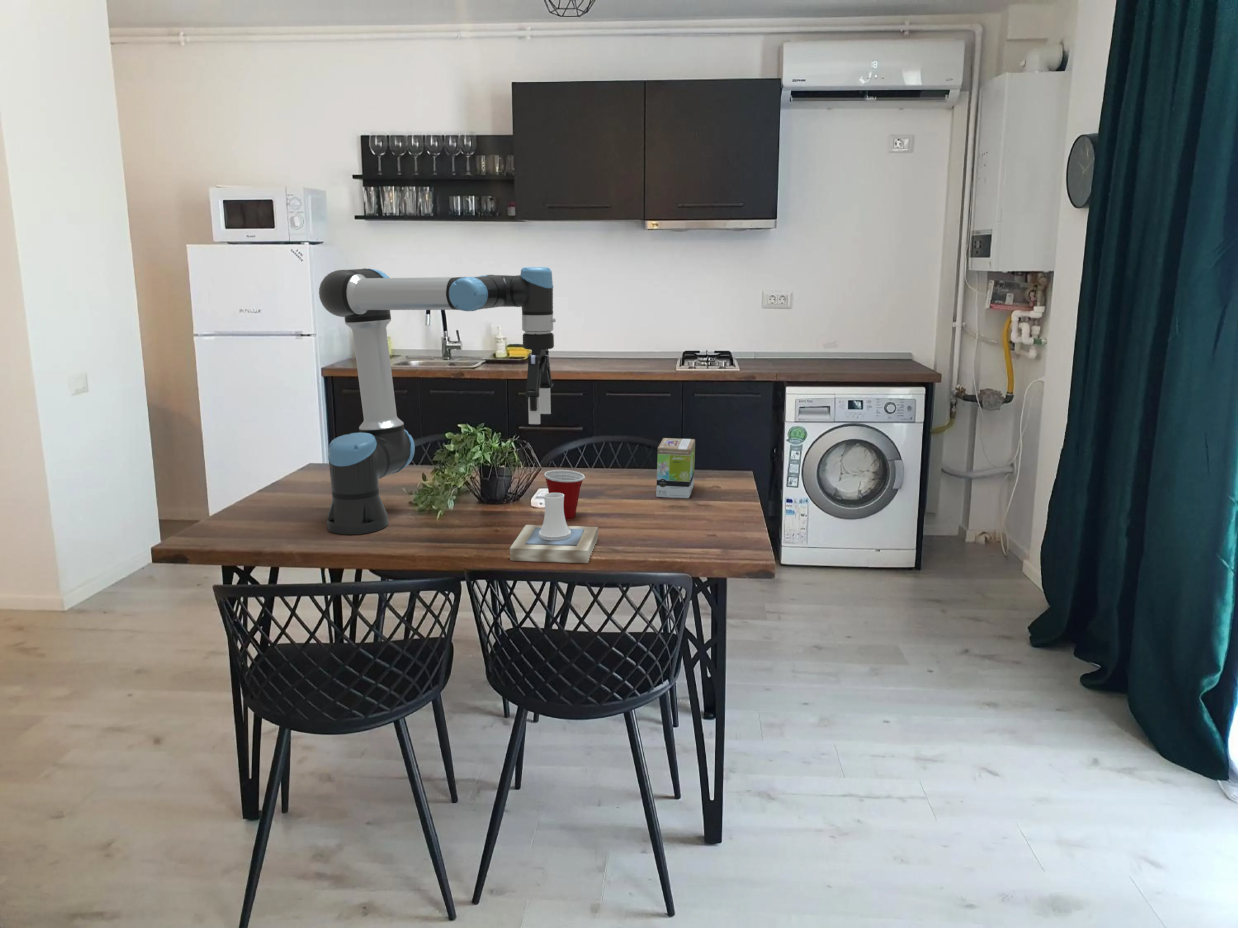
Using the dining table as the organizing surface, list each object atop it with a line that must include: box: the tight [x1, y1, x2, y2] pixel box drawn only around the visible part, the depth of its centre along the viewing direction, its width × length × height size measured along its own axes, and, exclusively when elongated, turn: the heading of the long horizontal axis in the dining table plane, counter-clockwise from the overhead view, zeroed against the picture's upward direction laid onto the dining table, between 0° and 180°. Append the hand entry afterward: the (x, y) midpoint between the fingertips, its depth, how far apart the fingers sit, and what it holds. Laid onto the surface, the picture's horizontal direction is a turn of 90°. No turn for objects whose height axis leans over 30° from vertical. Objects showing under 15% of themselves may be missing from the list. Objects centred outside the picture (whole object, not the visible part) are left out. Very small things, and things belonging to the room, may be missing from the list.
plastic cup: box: [543, 469, 585, 521], centre depth 240 cm, size 11×11×12 cm
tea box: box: [655, 437, 696, 499], centre depth 265 cm, size 15×10×15 cm, turn 171°
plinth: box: [509, 524, 599, 564], centre depth 216 cm, size 18×18×3 cm
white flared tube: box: [539, 492, 571, 540], centre depth 214 cm, size 8×8×10 cm
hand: (540, 418), depth 225 cm, fingers open, 13 cm apart
